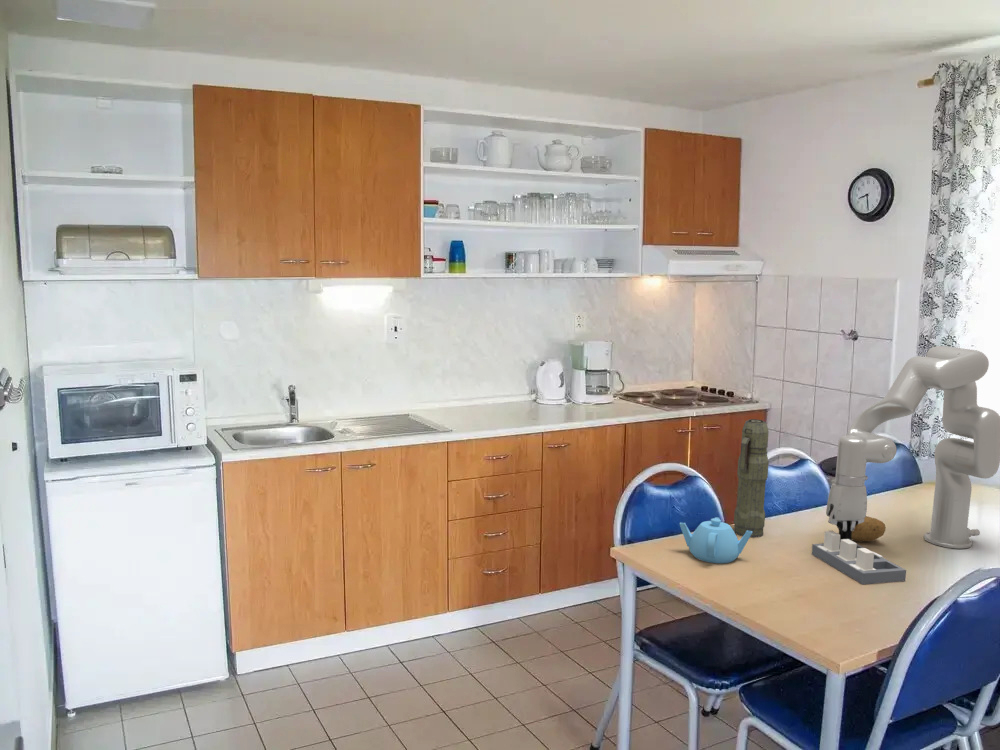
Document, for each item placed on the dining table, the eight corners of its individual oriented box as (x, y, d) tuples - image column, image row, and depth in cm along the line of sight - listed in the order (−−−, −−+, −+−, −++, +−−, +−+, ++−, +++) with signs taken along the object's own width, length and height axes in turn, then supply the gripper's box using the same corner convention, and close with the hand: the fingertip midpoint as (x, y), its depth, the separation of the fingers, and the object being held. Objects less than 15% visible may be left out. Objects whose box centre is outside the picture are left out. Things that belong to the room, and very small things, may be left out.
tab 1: (832, 551, 232) (833, 530, 231) (841, 557, 228) (843, 535, 227) (819, 552, 231) (821, 530, 230) (829, 558, 227) (831, 536, 226)
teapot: (674, 550, 233) (676, 514, 232) (715, 543, 240) (718, 508, 238) (709, 569, 220) (711, 531, 218) (752, 561, 226) (755, 524, 225)
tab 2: (848, 560, 225) (849, 538, 224) (858, 566, 221) (860, 543, 220) (835, 561, 224) (837, 539, 223) (845, 567, 220) (847, 544, 219)
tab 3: (864, 570, 218) (866, 547, 217) (875, 576, 214) (877, 553, 213) (851, 571, 217) (853, 548, 217) (862, 577, 213) (864, 554, 212)
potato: (880, 550, 237) (882, 523, 236) (830, 539, 246) (832, 513, 244) (888, 541, 245) (890, 515, 244) (839, 531, 253) (841, 506, 252)
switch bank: (851, 551, 236) (852, 540, 235) (905, 580, 214) (906, 568, 214) (811, 554, 233) (812, 543, 232) (862, 584, 211) (863, 572, 211)
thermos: (726, 533, 248) (733, 421, 243) (743, 524, 257) (750, 416, 252) (753, 540, 243) (761, 425, 238) (770, 531, 251) (778, 420, 246)
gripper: (864, 475, 232) (858, 537, 235) (818, 477, 229) (812, 540, 232) (882, 482, 225) (876, 546, 228) (834, 485, 222) (829, 549, 224)
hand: (844, 543), depth 230 cm, fingers closed
